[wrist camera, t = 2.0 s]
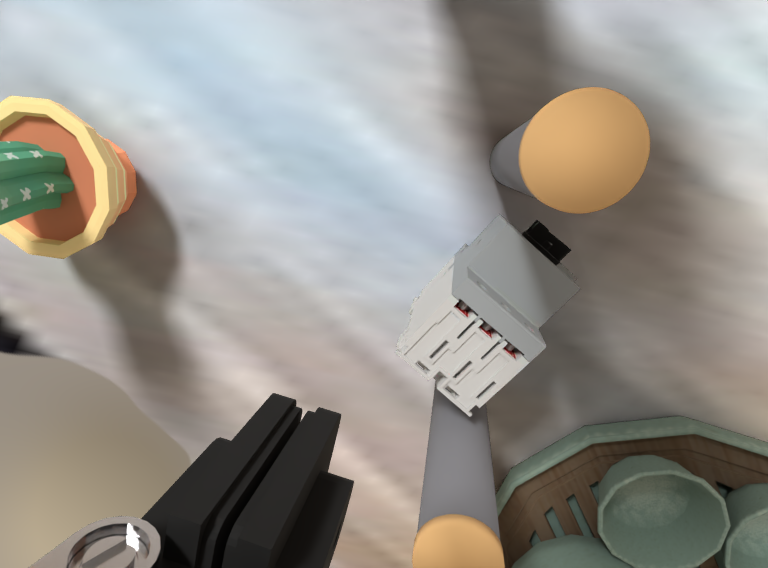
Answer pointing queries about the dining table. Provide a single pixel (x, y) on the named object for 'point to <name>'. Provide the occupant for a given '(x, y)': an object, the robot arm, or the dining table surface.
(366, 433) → the dining table surface
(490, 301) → the circuit breaker
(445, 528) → the post
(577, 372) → the dining table surface
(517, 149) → the post
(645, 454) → the tea set
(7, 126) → the potted cactus
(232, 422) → the dining table surface
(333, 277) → the dining table surface
